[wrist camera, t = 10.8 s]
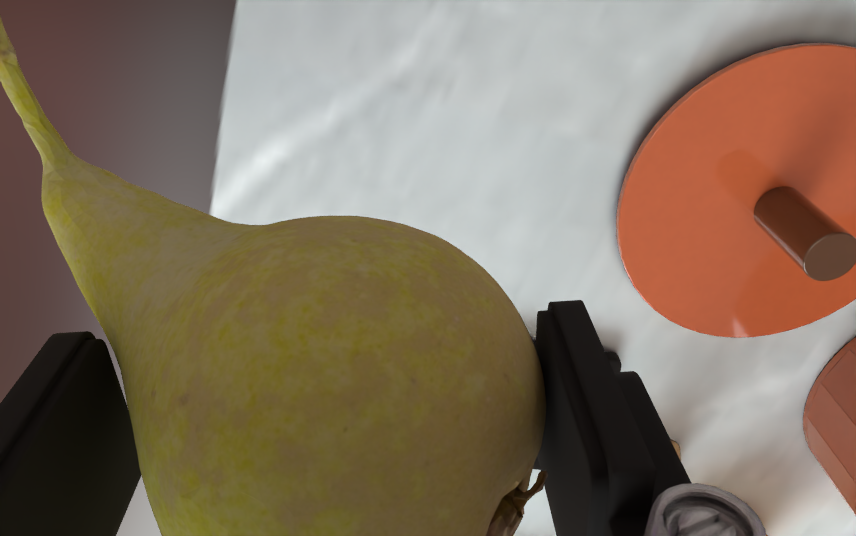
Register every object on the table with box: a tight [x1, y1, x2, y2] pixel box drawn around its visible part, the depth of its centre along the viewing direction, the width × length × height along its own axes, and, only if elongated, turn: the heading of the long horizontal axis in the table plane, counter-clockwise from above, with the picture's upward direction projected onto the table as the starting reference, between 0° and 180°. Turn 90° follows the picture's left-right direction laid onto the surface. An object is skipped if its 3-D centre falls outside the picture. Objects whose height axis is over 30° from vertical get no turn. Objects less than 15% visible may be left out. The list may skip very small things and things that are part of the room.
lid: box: [616, 43, 856, 337], centre depth 33 cm, size 16×16×6 cm
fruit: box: [0, 17, 548, 536], centre depth 12 cm, size 7×8×12 cm
